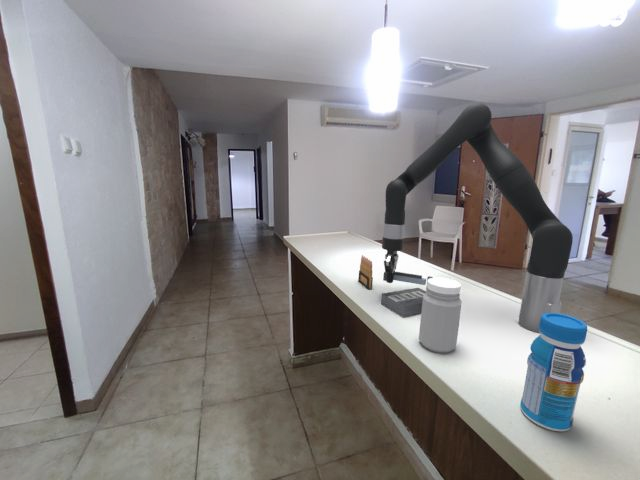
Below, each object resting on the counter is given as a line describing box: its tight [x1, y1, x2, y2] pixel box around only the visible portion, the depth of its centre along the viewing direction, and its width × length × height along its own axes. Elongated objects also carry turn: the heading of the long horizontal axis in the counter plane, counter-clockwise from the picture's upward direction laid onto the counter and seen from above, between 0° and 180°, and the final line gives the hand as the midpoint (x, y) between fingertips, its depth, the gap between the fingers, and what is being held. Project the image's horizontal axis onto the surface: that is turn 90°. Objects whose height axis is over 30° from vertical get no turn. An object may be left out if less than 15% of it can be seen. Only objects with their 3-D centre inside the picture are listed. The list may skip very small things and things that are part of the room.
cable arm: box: [382, 271, 427, 286], centre depth 116 cm, size 2×15×4 cm, turn 65°
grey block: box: [380, 275, 434, 319], centre depth 109 cm, size 12×18×10 cm
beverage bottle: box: [519, 313, 588, 432], centre depth 58 cm, size 8×8×20 cm
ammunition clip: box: [357, 255, 374, 291], centre depth 130 cm, size 11×2×12 cm, turn 15°
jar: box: [418, 276, 463, 354], centre depth 83 cm, size 10×10×18 cm
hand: (389, 282), depth 116 cm, fingers closed
